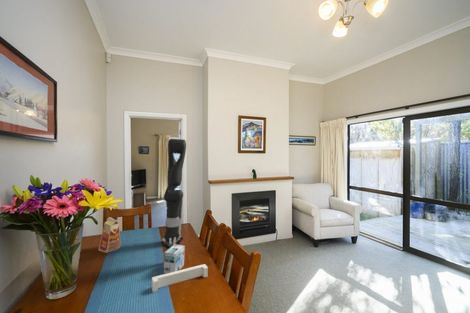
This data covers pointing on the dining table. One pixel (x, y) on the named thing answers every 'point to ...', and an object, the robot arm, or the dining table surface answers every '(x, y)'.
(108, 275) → the dining table surface
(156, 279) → the board
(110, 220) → the milk carton
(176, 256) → the light bulb box
